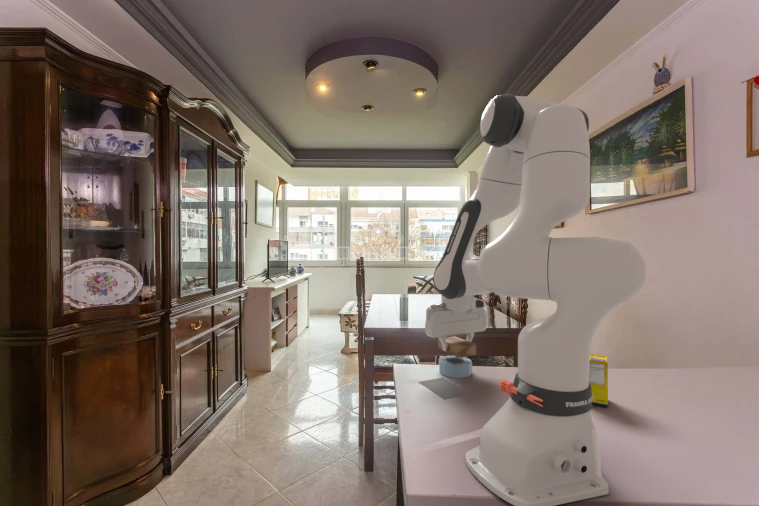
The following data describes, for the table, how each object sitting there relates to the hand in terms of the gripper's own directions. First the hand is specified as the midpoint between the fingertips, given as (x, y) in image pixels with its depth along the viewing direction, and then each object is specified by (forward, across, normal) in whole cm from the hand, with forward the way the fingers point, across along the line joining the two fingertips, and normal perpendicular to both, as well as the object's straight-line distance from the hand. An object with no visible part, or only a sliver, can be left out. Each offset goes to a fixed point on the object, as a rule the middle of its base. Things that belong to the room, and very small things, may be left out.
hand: (456, 348), depth 100 cm
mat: (+8, -10, -8) cm, 15 cm away
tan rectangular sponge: (+1, 0, 0) cm, 1 cm away
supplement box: (+8, +20, -28) cm, 35 cm away
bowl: (+8, 0, 0) cm, 8 cm away
